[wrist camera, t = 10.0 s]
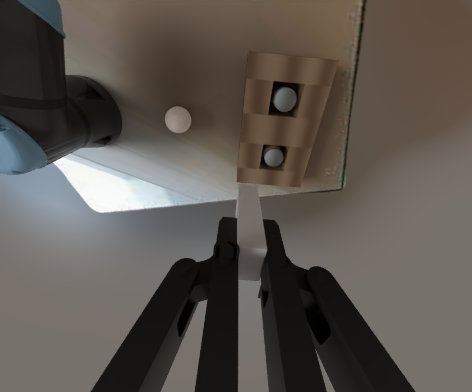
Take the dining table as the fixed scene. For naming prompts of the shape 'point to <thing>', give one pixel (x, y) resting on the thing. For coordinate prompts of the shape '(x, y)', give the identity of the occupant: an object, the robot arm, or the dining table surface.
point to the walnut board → (282, 116)
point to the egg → (178, 119)
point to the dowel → (272, 155)
